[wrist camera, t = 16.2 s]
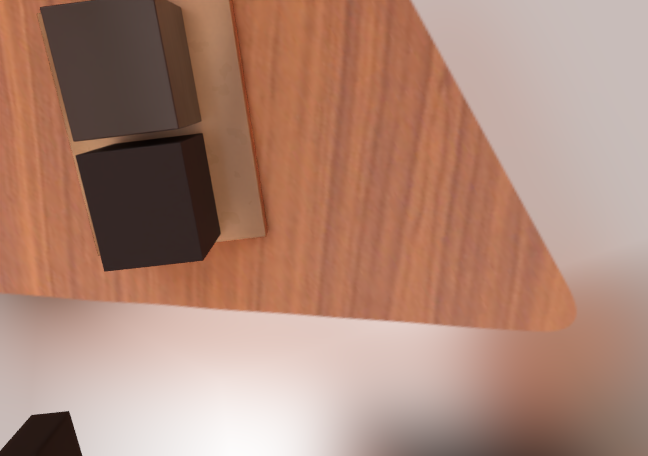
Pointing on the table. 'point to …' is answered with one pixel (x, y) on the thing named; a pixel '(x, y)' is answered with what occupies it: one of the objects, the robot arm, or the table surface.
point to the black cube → (150, 201)
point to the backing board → (216, 117)
